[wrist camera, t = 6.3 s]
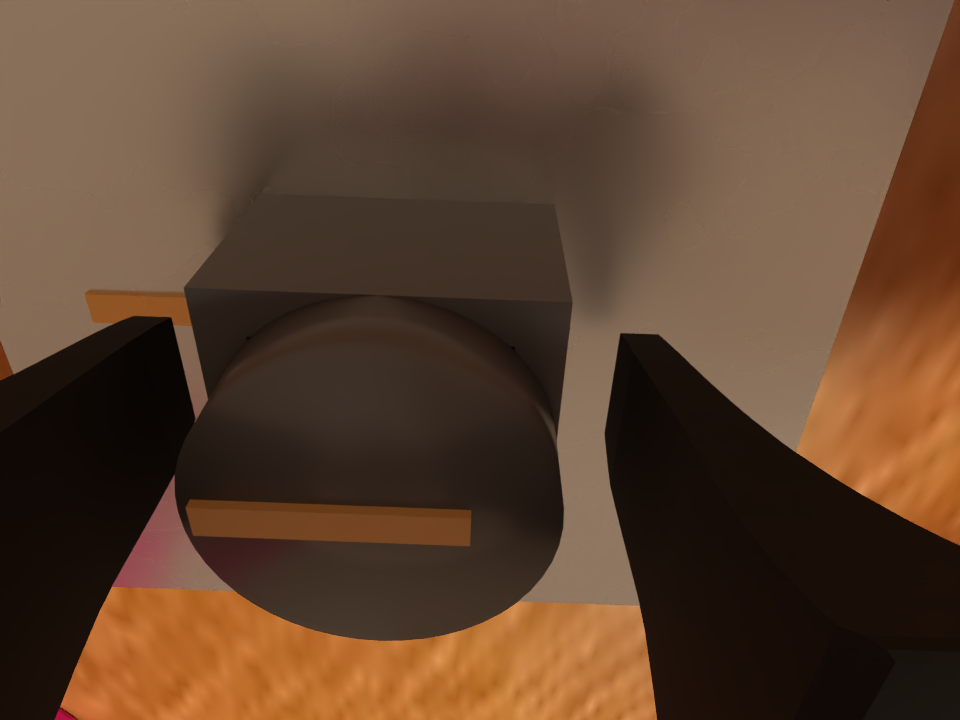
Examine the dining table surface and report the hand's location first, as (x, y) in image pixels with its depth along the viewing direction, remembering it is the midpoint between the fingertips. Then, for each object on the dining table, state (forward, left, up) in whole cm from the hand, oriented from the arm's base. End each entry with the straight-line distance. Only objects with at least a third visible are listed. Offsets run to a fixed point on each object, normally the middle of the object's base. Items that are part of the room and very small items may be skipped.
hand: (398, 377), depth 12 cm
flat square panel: (0, 0, -3) cm, 3 cm away
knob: (0, 0, -2) cm, 2 cm away
